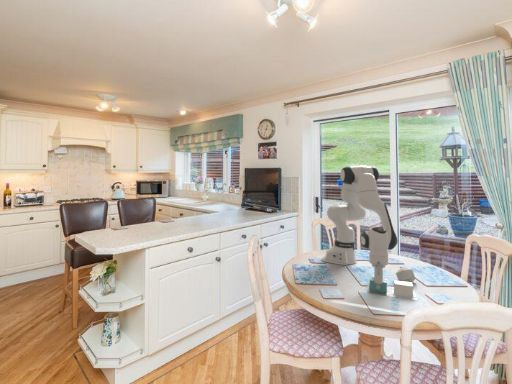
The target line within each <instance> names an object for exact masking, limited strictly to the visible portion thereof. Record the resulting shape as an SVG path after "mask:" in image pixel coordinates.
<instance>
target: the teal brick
mask: <svg viewBox="0 0 512 384" xmlns="http://www.w3.org/2000/svg"><path fill="white" fill-rule="evenodd" d="M387 281H388V280H387V278H383V283H382V284H380V289H377V288H376V283H375V282H374V276H373V277H372V276H369V283H370V286H369V290H373V291H380V292H387V286H388V282H387Z"/></svg>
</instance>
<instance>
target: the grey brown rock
mask: <svg viewBox="0 0 512 384" xmlns="http://www.w3.org/2000/svg"><path fill="white" fill-rule="evenodd" d="M395 275H396V277H397V281H404V282H412V283H413V282H414V281H415V280H416V276H415V273H414V271H413V269H412V268H407V267H404V266H402V267H400V268H399V269H398V270H397V271H396V272H395Z"/></svg>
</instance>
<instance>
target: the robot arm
mask: <svg viewBox="0 0 512 384" xmlns="http://www.w3.org/2000/svg"><path fill="white" fill-rule="evenodd" d="M339 176H340V180H341V182H342V186H341V191H340V199H341V200H342V201H344V202H345V203H346V204H335V205H331V206H329V207H328V208H327V211H326V216H327V218H328V219H329V220H330V221H331V222H332V223H333V224H334V225H335V227H336V234H337V235H336V236H337V239H336V238H335V239H334V240H333V241H334V242H333V244H334V245H332V246H331V247H329V248H328V249H327V250H326V252H325V255H324V256H323V257H322V258H321V260H322V261H323V262H324V263H329V264H334V265H335V264H336V265H340V266H348V265H354V264H357V258H356V252H355V251H356V241H355V229H354V228H353V227H351V226H350V225H348V224H347V222H356V221H361V220H364V219H365V217H366V210H368V211H372V212H374V213H375V214H377V216H378V217H379V219H380V223H381V226H382V227H380V226H375V227H372V228H371V229H370V230H365V231H362V232H361V235H360V244H361V246H362V247H363V248H364V249H367V250H368V249H369V252H368V253H369V255H368V256H369V257H368V258H369V259H368V260H369V261H368V263H370V264H371V266H372V267H373V270H374V276H373V277H374V282H375V283H376V288H377V289H380V284H382V283H383V279H384V277H383V276H384V275H383V274H384V269H385V268H386V266H388V265H389V251H388V250H390V251H391V250H393V249H394V248H395V247H396V246H397V245H398V236H397V235H396V232H395V230H394V226H393V223H392V220H391V216H390V213H389V210H388V207H387V205H386V202H384V201H383V200H382V199H381V198H380V195H379V191H378V190H379V189H378V185H377V182H378V181H379V178H380V172H379V169H378V168H377V167H375V166H371V165H370V166H367V165H357V166H345V167H342V169H341V170H340V175H339Z"/></svg>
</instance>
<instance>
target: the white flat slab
mask: <svg viewBox="0 0 512 384" xmlns="http://www.w3.org/2000/svg"><path fill="white" fill-rule="evenodd" d="M369 286H370V282H368V283H367V287H366V288H367V289H366V291H367V292H366V293H367V294H373V295H378V296H379V295H380V296H384V297H385V296H386V297H391V298H398V299H403V300H405V299H406V300H411V301H418V297H417V295H416V291H415V289H413V296H407V295H400V294H395V293H394V286H392V285H391V286H390V285H387V292H380V291H373V290H369Z"/></svg>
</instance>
